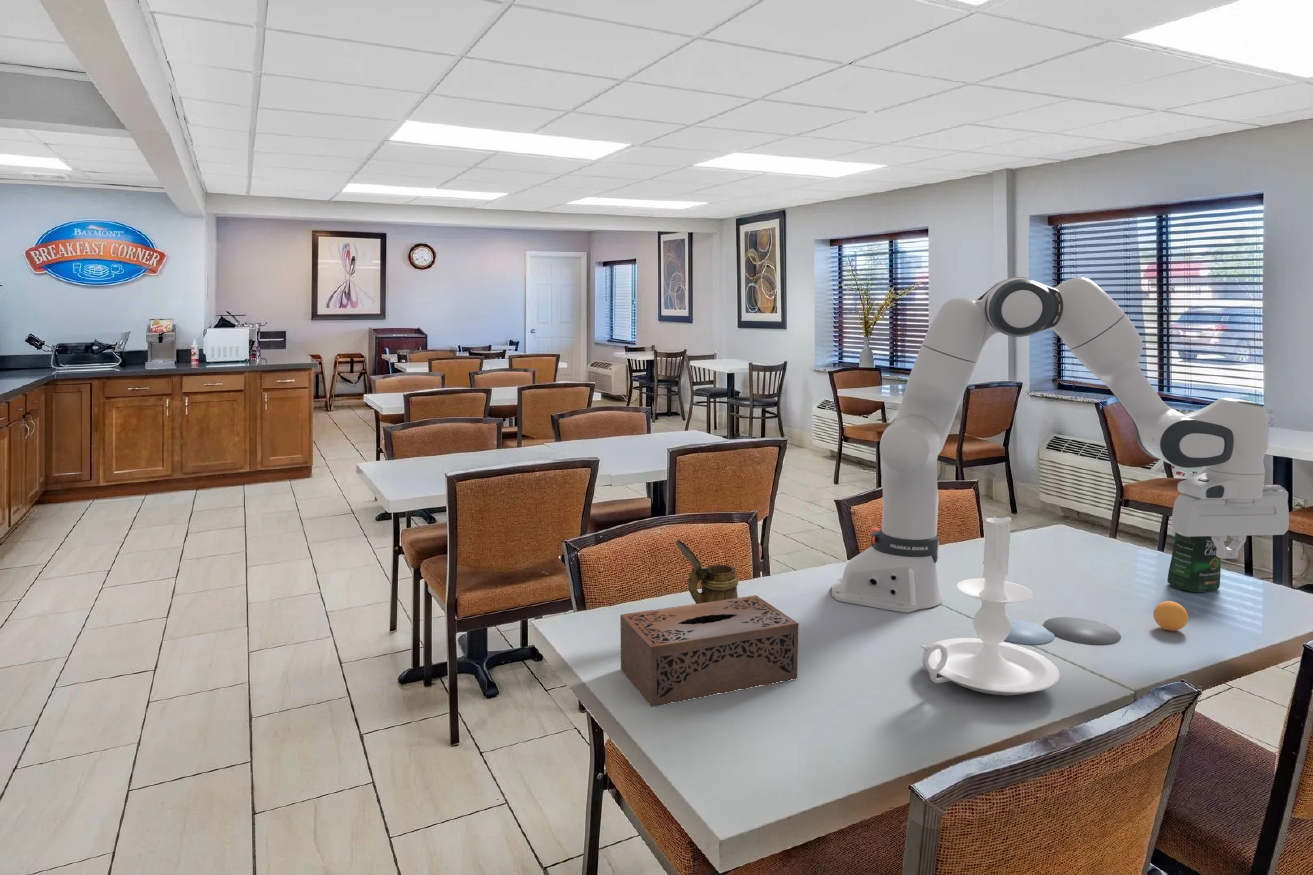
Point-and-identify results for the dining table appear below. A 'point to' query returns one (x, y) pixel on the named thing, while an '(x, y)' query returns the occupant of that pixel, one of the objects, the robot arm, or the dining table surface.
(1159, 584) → the dining table surface
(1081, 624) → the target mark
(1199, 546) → the coffee jar
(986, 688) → the candlestick
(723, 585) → the wooden mug
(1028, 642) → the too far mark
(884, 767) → the dining table surface
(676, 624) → the tissue box cover
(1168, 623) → the ball
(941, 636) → the dining table surface
